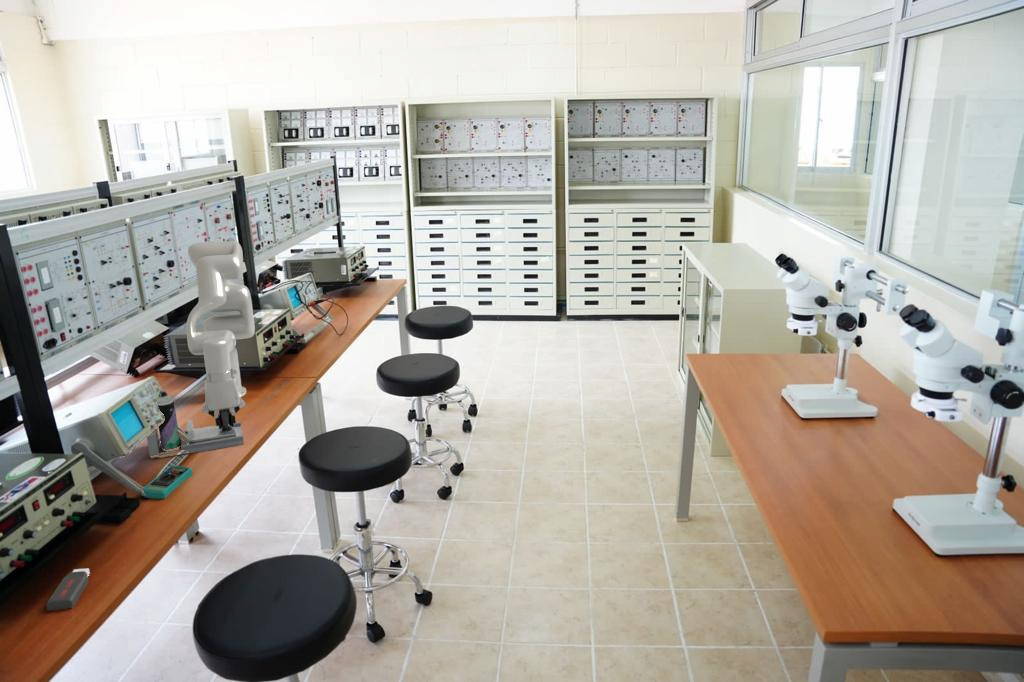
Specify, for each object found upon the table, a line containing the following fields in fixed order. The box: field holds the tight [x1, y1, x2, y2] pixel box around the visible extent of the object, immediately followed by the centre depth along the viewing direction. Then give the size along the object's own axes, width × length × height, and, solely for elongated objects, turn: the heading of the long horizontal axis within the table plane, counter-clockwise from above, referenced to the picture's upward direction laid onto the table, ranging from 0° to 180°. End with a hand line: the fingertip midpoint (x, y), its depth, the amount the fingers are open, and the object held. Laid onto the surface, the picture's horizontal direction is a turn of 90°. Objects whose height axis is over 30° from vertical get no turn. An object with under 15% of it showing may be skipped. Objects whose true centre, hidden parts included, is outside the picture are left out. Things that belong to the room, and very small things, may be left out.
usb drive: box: [46, 567, 91, 612], centre depth 156 cm, size 5×12×3 cm, turn 10°
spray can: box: [156, 390, 181, 450], centre depth 218 cm, size 6×6×20 cm
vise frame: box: [146, 421, 245, 458], centre depth 223 cm, size 12×28×8 cm, turn 115°
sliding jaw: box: [186, 408, 236, 444], centre depth 224 cm, size 8×14×9 cm, turn 115°
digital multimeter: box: [142, 465, 193, 500], centre depth 200 cm, size 7×15×3 cm, turn 172°
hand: (226, 426), depth 226 cm, fingers closed on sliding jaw, 3 cm apart
